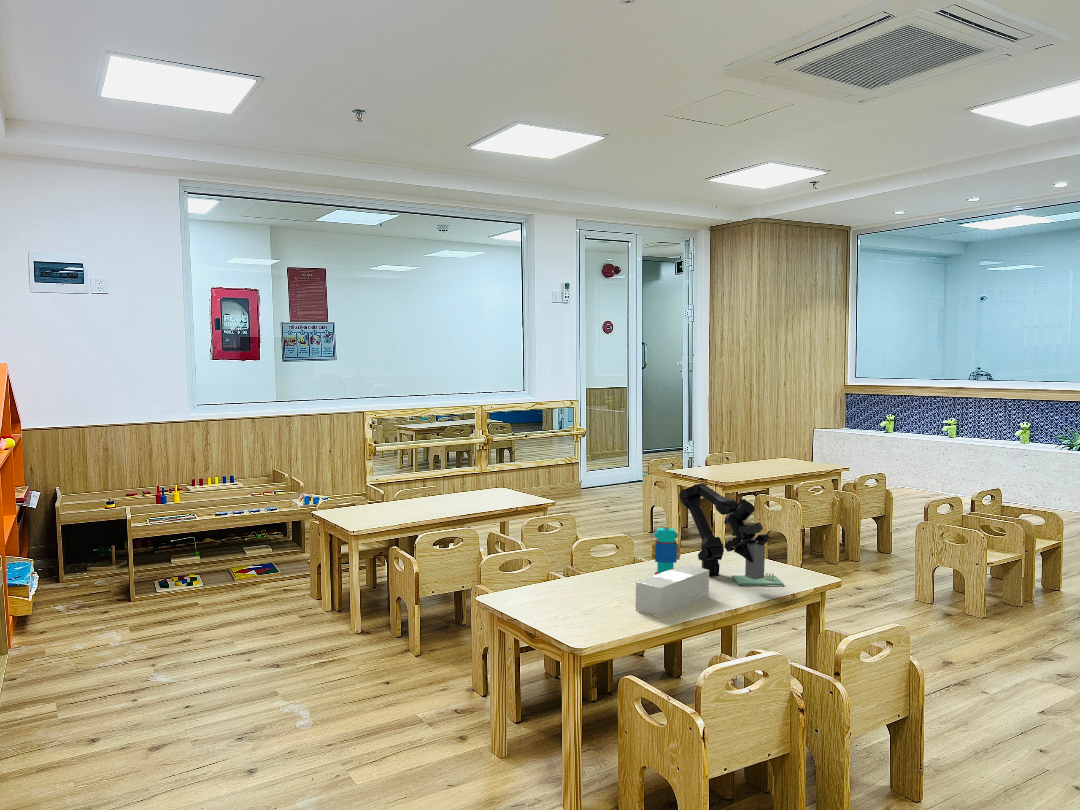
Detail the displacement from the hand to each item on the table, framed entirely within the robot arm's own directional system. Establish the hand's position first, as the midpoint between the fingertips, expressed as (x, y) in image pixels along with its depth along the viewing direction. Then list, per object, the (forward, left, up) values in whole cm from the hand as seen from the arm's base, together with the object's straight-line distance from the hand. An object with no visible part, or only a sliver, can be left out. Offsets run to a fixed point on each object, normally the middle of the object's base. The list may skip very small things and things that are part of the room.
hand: (757, 561), depth 304 cm
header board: (+4, +15, -12) cm, 20 cm away
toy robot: (-33, +17, -13) cm, 39 cm away
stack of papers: (-35, -13, -13) cm, 39 cm away
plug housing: (-1, +1, -7) cm, 7 cm away
